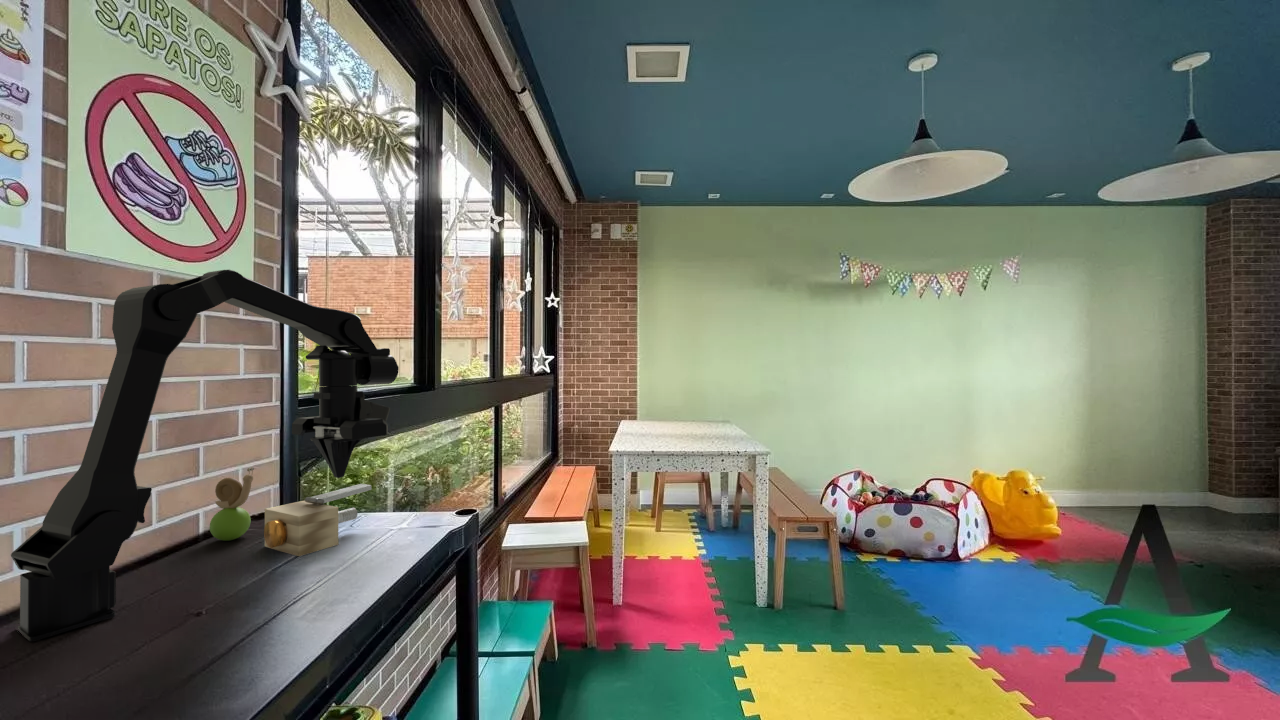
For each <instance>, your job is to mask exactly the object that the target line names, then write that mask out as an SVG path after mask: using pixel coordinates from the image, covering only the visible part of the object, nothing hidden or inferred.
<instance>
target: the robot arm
mask: <svg viewBox="0 0 1280 720" xmlns="http://www.w3.org/2000/svg"><path fill="white" fill-rule="evenodd" d="M223 303H226V304H228V305H231V306H234V307H236V308H240V309H243V310H245V311H247V312H251V313H252V314H253V313H254V314H256V315H258V316H261V317H265V318H267V319H270V320H273V321H275V322H278V323H280V324H282V325H283V324H284V325H285V326H288V327H292V328H294V329H295V330H296V331H299V332H300V333H301V334H302V335H303V336H304V337H305V338H306V339H307V340H310V341H311V342H313V343H315V344H317V345H316V346H315V348H314V349H312V351H310V352H309V353H308V354H307V355H306V356H305V359H306V360H312V361H313V360H315V361H316V360H318V392H314V393H313V399H314V400H318V401H319V408H318V409H319V410H318V411H319V413H318V414H319V415H317V416H308V417H306V416H304V417H297V418H296V419H295V420H294V421H293V422H292V423H291V434H292V435H298V436H302V435H305V433H306V434H307V433H308V434H309V433H314V434H315V435H314V436H312V437H310V441H311V442H313V443H314V445H315V446H316V448H317V449H318V451H319V452H320V454H321V455H322V457H323V459H324V460H325V463H326V464H327V466H328V468H329V469H330V471H331V474H332V475H333V476H334V478H337V479H341V478H344V477H345V473H346V471H347V469H348V464H349V462H350V459H351V457H352V454H353V452H354V450H355V447H356V446H357V445H358V444H359V443H360V442H361V441H362V440H365V439H366V438H375V437H383V436H388V435H389V434H388V433H389V432H388V431H389V430H388V429H389V428H388V425H389V423H387V420H388V417H389V414H390V410H391V407H389V406H385V405H382V404H380V403H376V402H372V401H370V400H368V399H367V400H366V398H365V397H366V396H365V393H364V391H360V390H359V391H358V385H360V386H369V385H370V386H374V385H376V386H377V385H390V384H392V383H394V382H395V381H396V380H397V378H398V375H399V370H400V369H399V365H398V363H397V360H396V359H395V357H394V356H393V355H391V349H390V348H387V347H386V348H384V347H383V348H377V347H376V345H375V343H374V342H373V341H372V339H371V337H370V336H369V334H368V333H367V331H366V329H365V328H364V325H363V323H362V318H361V317H360V316H358V315H357V314H356V313H353V312H349V311H344V310H340V309H335V308H328V307H320V306H316V305H314V304H310V303H307V302H306V301H303V300H301V299H299V298H296V297H293V296H291V295H289V294H286V293H284V292H282V291H279V290H277V289H274V288H272V287H269V286H267V285H264V284H262V283H260V282H258V281H255V280H252V279H250V278H248V277H245V276H243V275H242V273H239V271H235V270H233V269H232V270H231V269H222V270H215V271H214V270H213V271H208V272H205V273H203V274H202V275H200V276H197V277H195V278H194V277H193V278H191V279H187V280H183V281H180V282H176V283H172V284H171V283H160V284H153V285H152V284H151V285H146V286H138V287H132V288H130V289H127V290H125V291H122V292H121V293H120V294H119V295H117V297H116V299H115V301H114V305H113V313H112V314H113V315H112V324H111V325H112V326H111V328H112V334H113V339H114V343H115V346H116V354H115V357H114V359H113V364H112V367H111V370H110V373H109V376H108V378H107V379H108V380H107V383H106V386H105V390H104V391H103V395H102V398H101V401H100V404H99V408H98V411H97V414H96V416H95V417H96V418H95V420H94V423H93V427H92V429H91V434H90V437H89V439H88V443H87V446H86V449H85V452H84V455H83V458H82V461H81V465H80V466H79V468H78V470H77V471H76V472H75V473H74V474H73V475H72V476H71V478H70V479H69V480H68V482H66V484H65V485H63V487H62V488H61V489H60V490H59V492H58V493H57V495H56V497H55V499H54V500H53V502H52V504H51V506H50V507H49V509H48V511H47V513H46V514H45V516H44V519H43V521H42V526H41V527H40V528H39V529H37V531H35V532H34V533H33V534H32V535H31V536H29V537H28V538H27V539H26V540H25V541H23V543H22V544H20V545H19V546H18V547H16V548H15V550H14V551H12V553H11V554H10V557H11V559H12V561H13V562H14V563H15V565H16V567H17V569H18V570H21V571H28V572H25V573H21V574H20V577H19V578H20V579H19V581H20V583H19V584H20V585H19V588H20V590H19V591H20V594H19V600H20V601H19V623H20V626H18V629H19V630H20V632H21V633H22V634H23V635H24V636H23V635H22V636H23V637H24V638H25V639H27V640H28V641H29V642H35V641H39V640H42V639H46V638H49V637H52V636H56V635H58V634H62V633H66V632H69V631H72V630H76V629H78V628H81V627H82V628H83V627H85V626H87V625H91V624H94V623H98V622H101V621H105V620H107V619H111V618H113V617H115V616H116V611H115V610H114V609H113V608H115V606H116V605H117V599H116V598H117V572H116V571H114V570H112V569H111V568H110V566H113V565H114V564H115V562H116V559H117V557H118V554H119V552H120V550H121V547H122V546H123V544H124V542H126V541H127V540H129V539H130V538H131V537H132V535H133V534H134V533H135V530H136V528H137V526H138V523H140V524H144V523H146V520H145V509H146V505H147V503H148V502H149V500H150V498H151V495H152V490H153V489H152V487H148V486H140V485H138V484H137V479H136V474H135V470H136V465H137V462H138V458H139V455H140V452H141V449H142V445H143V442H144V440H145V439H144V438H145V434H146V432H147V429H148V425H149V423H150V422H149V421H150V418H151V414H152V411H153V407H154V404H155V401H156V397H157V395H158V394H157V393H158V391H159V387H160V383H161V380H162V377H163V373H164V371H165V367H166V364H167V363H166V362H167V360H168V358H169V357H170V355H171V354H172V353H173V351H175V349H176V348H177V347H178V346H179V345H180V344H181V343H182V342H183V340H184V339H185V338H186V337H187V335H188V333H189V332H190V329H191V327H193V324H194V322H195V320H196V318H197V317H198V314H200V313H203V312H206V311H208V310H210V309H211V310H212V309H214V308H215V307H217V306H219V305H221V304H223Z"/></svg>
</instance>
